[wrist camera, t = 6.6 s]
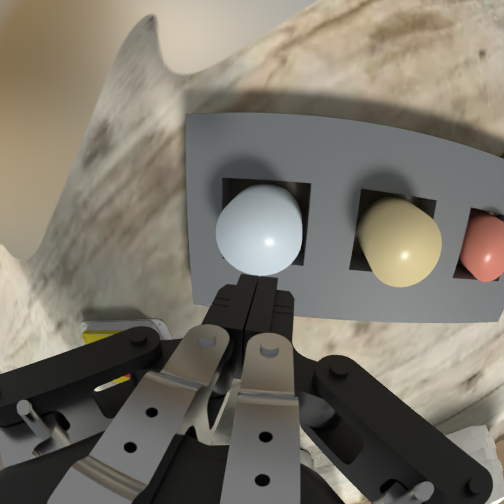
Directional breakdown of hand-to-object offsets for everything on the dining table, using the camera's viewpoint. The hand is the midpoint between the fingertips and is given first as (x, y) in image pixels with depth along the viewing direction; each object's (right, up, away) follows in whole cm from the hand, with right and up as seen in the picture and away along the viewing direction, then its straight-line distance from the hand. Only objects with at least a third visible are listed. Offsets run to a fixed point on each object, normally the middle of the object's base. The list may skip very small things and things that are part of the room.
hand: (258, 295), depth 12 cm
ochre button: (+11, +3, +9) cm, 14 cm away
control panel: (+11, +4, +11) cm, 16 cm away
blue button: (+1, +4, +10) cm, 11 cm away
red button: (+21, +3, +9) cm, 23 cm away
